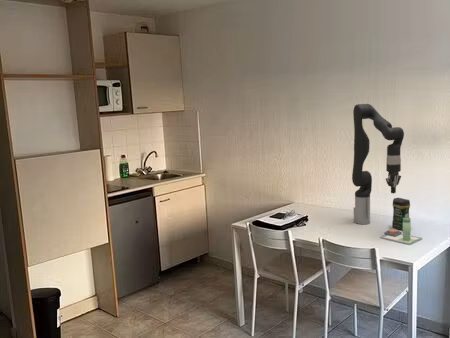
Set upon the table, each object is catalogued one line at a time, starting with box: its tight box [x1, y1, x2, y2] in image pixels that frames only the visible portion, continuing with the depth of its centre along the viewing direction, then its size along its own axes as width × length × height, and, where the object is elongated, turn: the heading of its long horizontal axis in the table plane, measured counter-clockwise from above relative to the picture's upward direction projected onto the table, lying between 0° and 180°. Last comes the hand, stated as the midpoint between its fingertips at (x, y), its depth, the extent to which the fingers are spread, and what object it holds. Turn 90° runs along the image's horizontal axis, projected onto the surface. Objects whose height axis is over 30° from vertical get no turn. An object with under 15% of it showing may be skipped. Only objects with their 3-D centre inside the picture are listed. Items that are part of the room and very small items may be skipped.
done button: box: [388, 228, 398, 234], centre depth 256 cm, size 4×4×2 cm
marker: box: [402, 217, 412, 241], centre depth 245 cm, size 4×4×12 cm
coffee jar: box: [391, 197, 411, 231], centre depth 268 cm, size 10×8×19 cm
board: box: [379, 230, 423, 246], centre depth 250 cm, size 18×14×2 cm
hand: (393, 193), depth 252 cm, fingers closed
